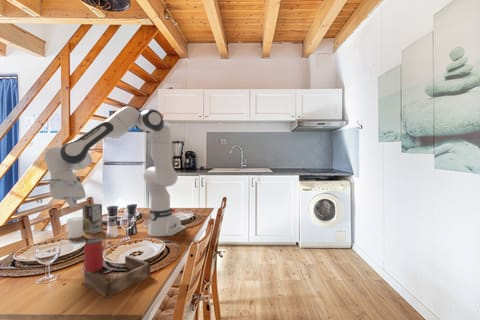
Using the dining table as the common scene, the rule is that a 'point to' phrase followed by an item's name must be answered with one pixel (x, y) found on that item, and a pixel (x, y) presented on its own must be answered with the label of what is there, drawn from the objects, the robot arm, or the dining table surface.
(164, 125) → the robot arm
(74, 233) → the white cup
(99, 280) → the walnut corral
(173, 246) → the dining table surface
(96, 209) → the coffee box
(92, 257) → the beer can
